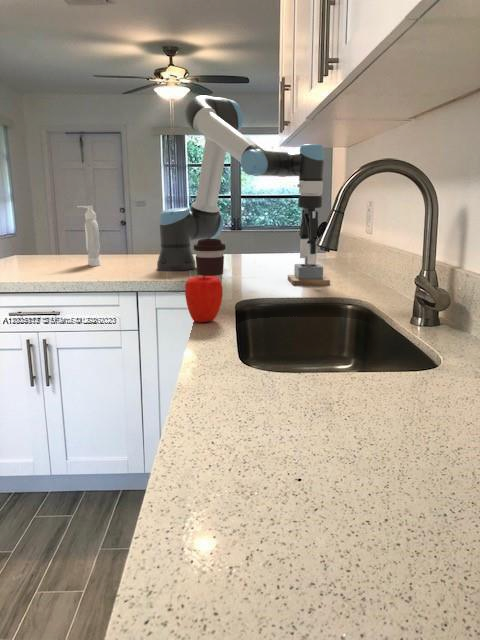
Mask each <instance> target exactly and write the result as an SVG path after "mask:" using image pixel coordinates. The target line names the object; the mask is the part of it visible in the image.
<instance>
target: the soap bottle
mask: <svg viewBox="0 0 480 640" xmlns="http://www.w3.org/2000/svg"><path fill="white" fill-rule="evenodd" d="M76 207H77V209H78V208H85V209H87V210H86V211H85V213H84V217H85V223H84V232H85V248H86V252H87V254H88V257H87V264H88V266H91V267H99V266H101V265H102V264H101V263H102V262H101V257H100V251H101V250H100V249H101V247H100V246H101V245H100V235H99V232H100V231H99V224H98V222H97V213H96V212H95V211H94V210H93V205H78V206H76Z"/></svg>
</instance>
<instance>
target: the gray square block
mask: <svg viewBox="0 0 480 640" xmlns="http://www.w3.org/2000/svg"><path fill="white" fill-rule="evenodd" d="M293 269H294V271H293V273H294V274H293V275H294V276H295V277H296V278H297V279H298V280H308V279H323V275H324V266H322V265H321V264H319V263H316V264H312V267H305V263H294V268H293Z"/></svg>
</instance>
